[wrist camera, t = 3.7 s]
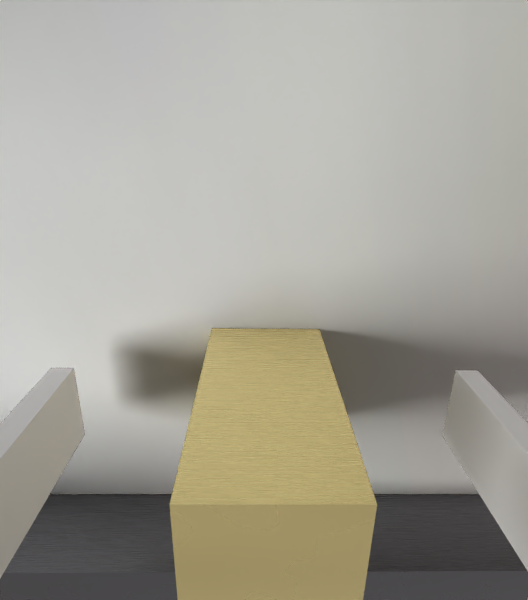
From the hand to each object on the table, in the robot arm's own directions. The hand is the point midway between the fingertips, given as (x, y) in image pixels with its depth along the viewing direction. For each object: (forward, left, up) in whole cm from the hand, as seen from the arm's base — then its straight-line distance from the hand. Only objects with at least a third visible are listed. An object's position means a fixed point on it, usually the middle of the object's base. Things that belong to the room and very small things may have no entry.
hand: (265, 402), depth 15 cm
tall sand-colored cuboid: (0, 0, -2) cm, 2 cm away
